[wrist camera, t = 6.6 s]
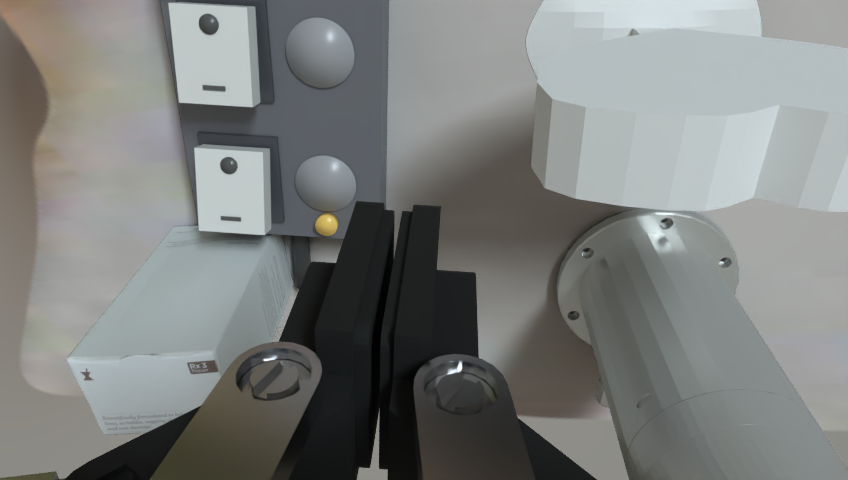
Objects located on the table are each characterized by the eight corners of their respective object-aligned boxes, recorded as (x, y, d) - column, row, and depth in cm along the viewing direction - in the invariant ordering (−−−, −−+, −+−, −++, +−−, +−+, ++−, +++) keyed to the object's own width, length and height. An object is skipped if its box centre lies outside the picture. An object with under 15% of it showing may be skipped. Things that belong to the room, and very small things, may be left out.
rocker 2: (271, 228, 38) (264, 235, 36) (207, 224, 38) (198, 231, 36) (269, 148, 36) (262, 152, 35) (203, 144, 36) (193, 147, 35)
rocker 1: (260, 102, 34) (252, 107, 32) (189, 98, 34) (178, 102, 32) (255, 6, 32) (246, 7, 30) (179, 1, 32) (167, 2, 30)
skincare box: (195, 287, 47) (97, 441, 34) (171, 220, 44) (53, 361, 31) (300, 282, 46) (239, 437, 33) (284, 213, 43) (210, 355, 30)
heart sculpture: (507, 82, 37) (539, 228, 22) (511, -4, 35) (551, 93, 19) (766, 81, 36) (988, 231, 21) (790, -9, 34) (1064, 90, 18)
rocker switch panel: (384, 284, 46) (378, 318, 42) (227, 273, 46) (208, 306, 42) (392, -204, 30) (383, -215, 27) (154, -217, 30) (115, -229, 27)
